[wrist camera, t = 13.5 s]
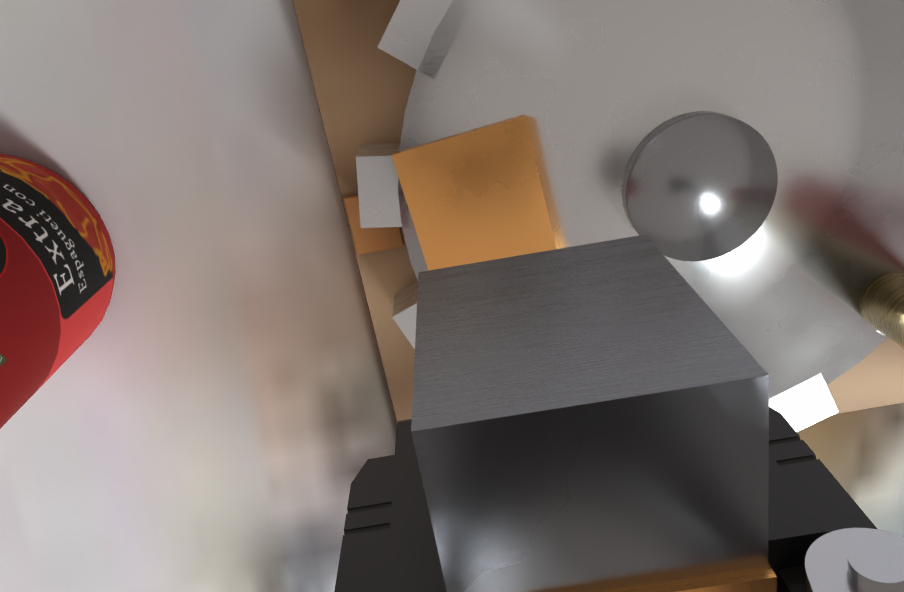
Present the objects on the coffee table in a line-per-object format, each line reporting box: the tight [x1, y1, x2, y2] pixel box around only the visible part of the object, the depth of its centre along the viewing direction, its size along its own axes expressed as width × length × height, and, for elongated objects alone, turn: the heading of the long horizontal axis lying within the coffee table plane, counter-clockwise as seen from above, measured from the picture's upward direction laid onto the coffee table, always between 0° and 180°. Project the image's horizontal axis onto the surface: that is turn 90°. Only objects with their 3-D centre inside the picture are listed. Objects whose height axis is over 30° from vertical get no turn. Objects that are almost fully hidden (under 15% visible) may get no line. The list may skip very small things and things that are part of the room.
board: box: [293, 0, 904, 423], centre depth 24 cm, size 22×22×1 cm
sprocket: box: [356, 0, 904, 432], centre depth 20 cm, size 20×20×8 cm
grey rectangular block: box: [411, 235, 777, 592], centre depth 9 cm, size 6×3×4 cm, turn 9°
